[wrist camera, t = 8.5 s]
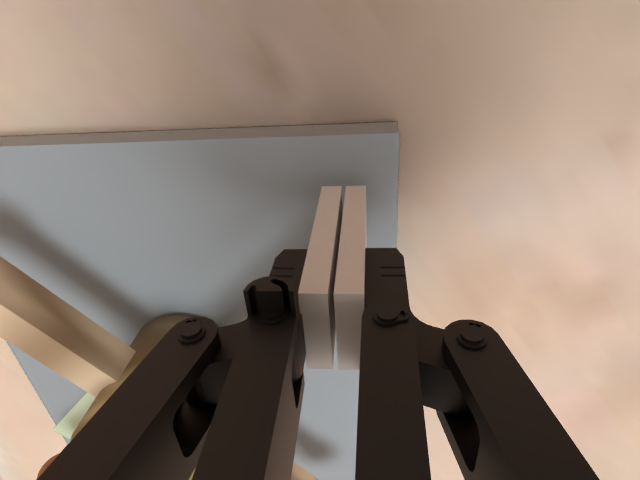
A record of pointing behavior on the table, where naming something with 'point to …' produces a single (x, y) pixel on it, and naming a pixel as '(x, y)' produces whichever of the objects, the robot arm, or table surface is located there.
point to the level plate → (189, 238)
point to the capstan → (76, 342)
